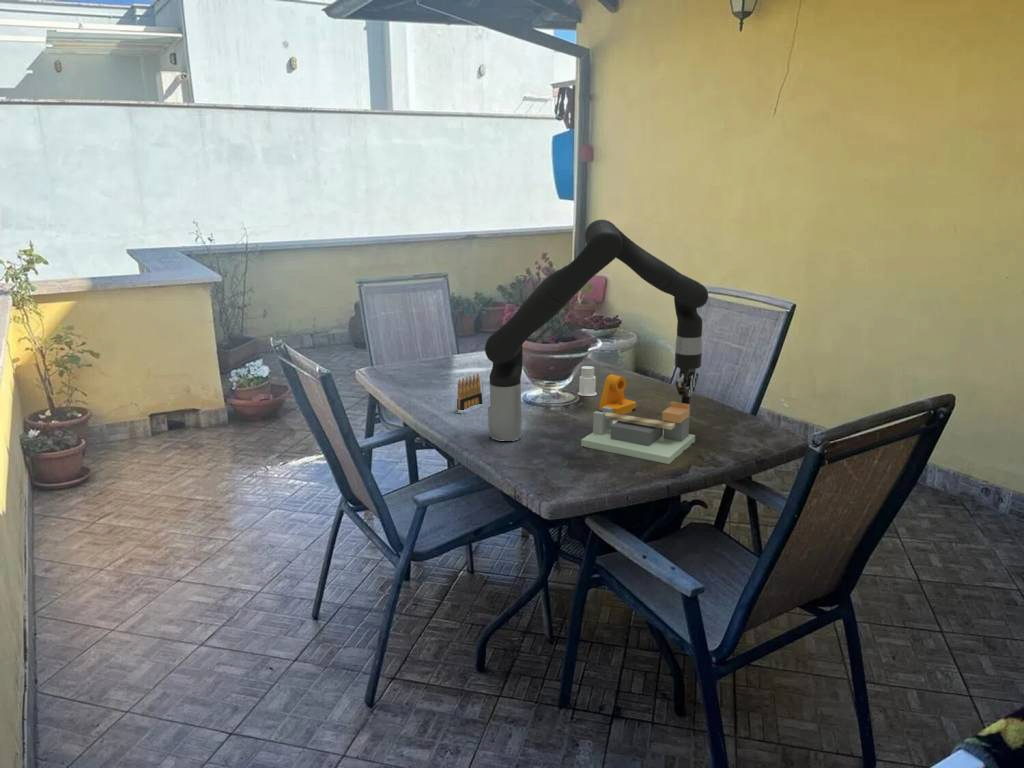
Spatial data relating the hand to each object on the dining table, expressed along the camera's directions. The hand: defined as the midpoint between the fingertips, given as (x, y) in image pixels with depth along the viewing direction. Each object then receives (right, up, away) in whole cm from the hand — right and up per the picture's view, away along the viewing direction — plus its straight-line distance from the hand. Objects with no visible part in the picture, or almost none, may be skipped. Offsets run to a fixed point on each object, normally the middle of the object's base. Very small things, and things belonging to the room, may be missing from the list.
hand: (685, 407), depth 212 cm
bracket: (-16, -2, +27) cm, 32 cm away
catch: (-4, -3, -6) cm, 8 cm away
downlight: (-24, +3, +46) cm, 52 cm away
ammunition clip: (-66, -2, +32) cm, 73 cm away
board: (-15, -11, -3) cm, 18 cm away
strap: (-16, -4, -4) cm, 17 cm away
